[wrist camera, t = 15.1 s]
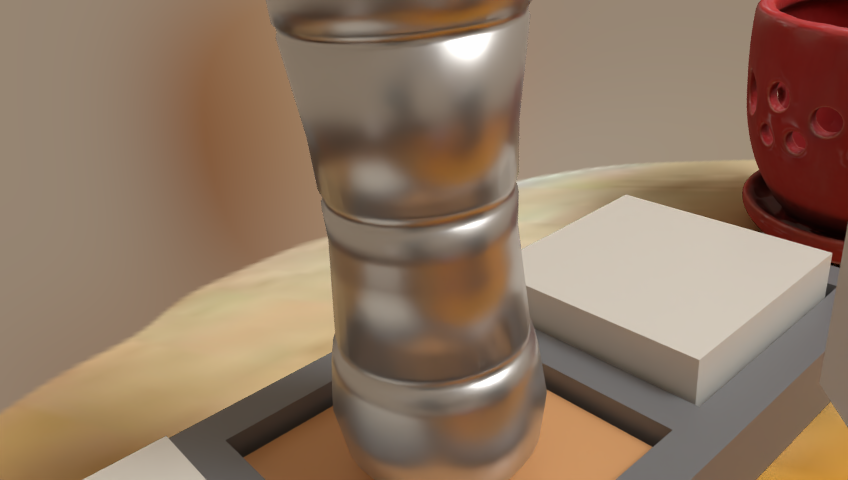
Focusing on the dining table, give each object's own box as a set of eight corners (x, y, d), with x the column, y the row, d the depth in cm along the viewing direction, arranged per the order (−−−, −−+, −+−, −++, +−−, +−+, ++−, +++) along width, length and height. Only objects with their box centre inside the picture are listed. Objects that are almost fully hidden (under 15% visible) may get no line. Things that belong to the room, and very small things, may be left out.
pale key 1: (825, 297, 30) (832, 253, 29) (694, 410, 25) (699, 360, 24) (624, 232, 37) (625, 194, 36) (488, 310, 31) (485, 267, 30)
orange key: (654, 497, 24) (657, 449, 24) (439, 697, 19) (433, 646, 18) (454, 378, 31) (451, 337, 30) (253, 503, 26) (242, 457, 25)
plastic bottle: (392, 571, 20) (257, -351, 12) (316, 426, 26) (186, -268, 17) (591, 483, 23) (604, -346, 14) (481, 367, 28) (441, -274, 19)
